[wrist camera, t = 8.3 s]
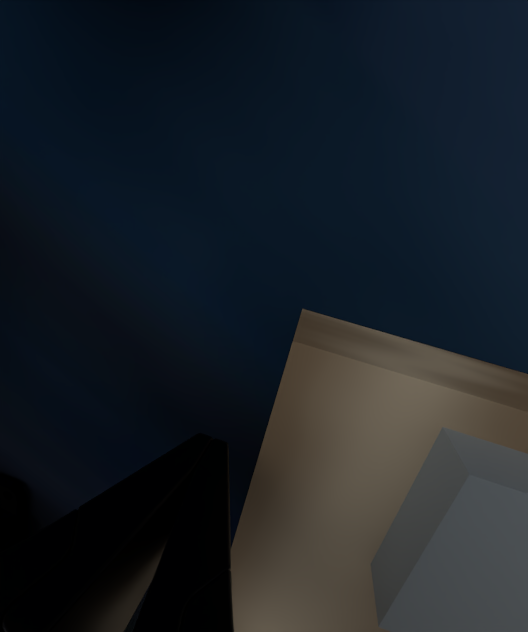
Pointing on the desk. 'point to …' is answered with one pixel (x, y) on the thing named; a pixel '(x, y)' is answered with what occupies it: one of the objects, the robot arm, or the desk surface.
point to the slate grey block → (458, 543)
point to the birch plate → (351, 467)
